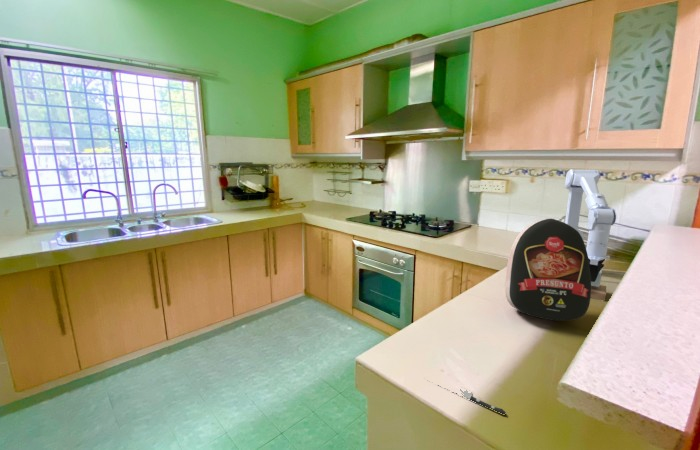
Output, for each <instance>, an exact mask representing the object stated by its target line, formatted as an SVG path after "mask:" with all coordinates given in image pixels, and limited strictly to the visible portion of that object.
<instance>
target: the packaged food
mask: <svg viewBox="0 0 700 450" xmlns="http://www.w3.org/2000/svg"><path fill="white" fill-rule="evenodd" d="M586 247H587V246H586V245H585V240H584V241H583V239H582V237H581V235H580V234H579V232H578V231H577V230H576V229H574V228H573V227H571V226H570V225H568V224H566V223H565V222H564V221H560V220H558V219H555V218H544V219H541V220H537V221H535V222H533V223H531V224H529V225H528V226H527V227H525V228H524V229H523V230H521V231H520V232H519V233H518V235H517V236H516V238H515V240H514V241H513V243H512V246H511V248H510V251H509V255H508V259H507V265H506V274H505V289H504V294H505V298H506V301H507V302H508V304H509V305H510V306H511V307H512V308H514V309H515V310H518V311H519V312H521V313H523V314H526V315H528V316H531V317H536V318H538V319H539V318H540V319H545V320H550V321H572V320H573V321H574V320H577V319H578V320H579V319H580V318H582V317H584V315H585V314H586V313H587V311H588V310H589V308H590V303H591V298H590V297H591V275H590V268H589V259H588V254H587V251H586Z"/></svg>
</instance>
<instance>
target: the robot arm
mask: <svg viewBox="0 0 700 450" xmlns="http://www.w3.org/2000/svg"><path fill="white" fill-rule="evenodd" d="M599 180H600V171H599V170H598V169H572V168H571V169H569V170H568V171H567V173H566V175H565V182H564V188H565V189H567V190H568V197H567V205H566V212H565V218H564V223H566V224H568V225H570V226H571V227H573V228H574V229H576V230H577V231H578V232H579V234H580V235H581V237H582V239H583V241H584V242H585V240H584V237H585V235H584V233H583V231H581V229H579V223H580V222H579V221H580V215H581V207H582V201H583V194H585V196H586V198H585V200H584V201H585V206H586V208H587V210H588V214H587V223H588V225H587V228H588V229H589V231H588V235H587V241H586V246H585V247H586V251H587V254H588V259H589V268H590V275H591V281H592V282H595V281H596V279H597V276H598V274H599V272H600V270H603V268H604V267H605V264H604V263H605V261H606V259H607V260H609V259H610V258H611V255H607V251H608V245H609V239H610V233H611V228H612V227H611V226H614V225H615V223H616V221H617V212H616V209H615V208H613V207H611V206H609V204H608V202H607V199H606V197H605V195H604V194H602V193H599V192H600V191H599V188H598V183H599V182H600V181H599Z"/></svg>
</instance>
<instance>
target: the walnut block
mask: <svg viewBox="0 0 700 450" xmlns="http://www.w3.org/2000/svg"><path fill="white" fill-rule="evenodd" d="M606 296H607V285H603V284H600V287H597V286H591V297H590V299H593V300H597V301H601V300H604V301H603V302H605V301H606Z"/></svg>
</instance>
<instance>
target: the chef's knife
mask: <svg viewBox="0 0 700 450" xmlns="http://www.w3.org/2000/svg"><path fill="white" fill-rule="evenodd" d="M467 390H468V389H466V391H464V392H463V391H462V390H461V389H460V391H461V392H462V393H463V394H464V395H463V394H462V393H461V394H462V395H463V396H464V397H466V398H467V399H470V400H472V401H474V402H476V403H479V404H481V405H483V406H486V407H488V408H491V409H493V410H495V411H497V412H500V413H502V414H505V413H506V414H507V412H506V411H505V410H504V409H503V408H500V407H497V406H494V405H491V404H489V403H486V402H484V401H482V400H480V399H478V398H477V397H475V396H473V394H472V392H473V391H472V392H471V393H468V391H467ZM467 399H466V400H467ZM470 400H469V401H470ZM472 401H471V402H472ZM474 402H473V403H474ZM476 403H475V404H476ZM479 404H478V405H479ZM481 405H480V406H481ZM483 406H482V407H483Z"/></svg>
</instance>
